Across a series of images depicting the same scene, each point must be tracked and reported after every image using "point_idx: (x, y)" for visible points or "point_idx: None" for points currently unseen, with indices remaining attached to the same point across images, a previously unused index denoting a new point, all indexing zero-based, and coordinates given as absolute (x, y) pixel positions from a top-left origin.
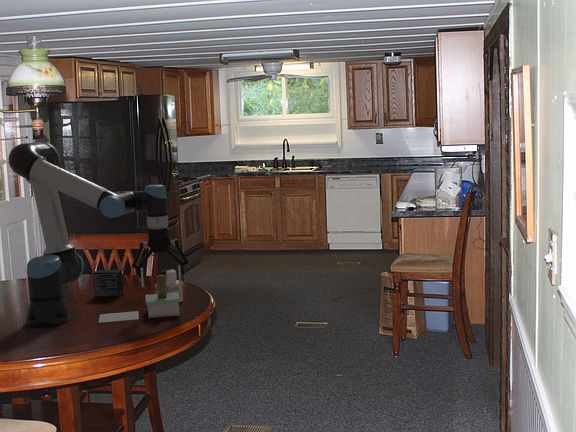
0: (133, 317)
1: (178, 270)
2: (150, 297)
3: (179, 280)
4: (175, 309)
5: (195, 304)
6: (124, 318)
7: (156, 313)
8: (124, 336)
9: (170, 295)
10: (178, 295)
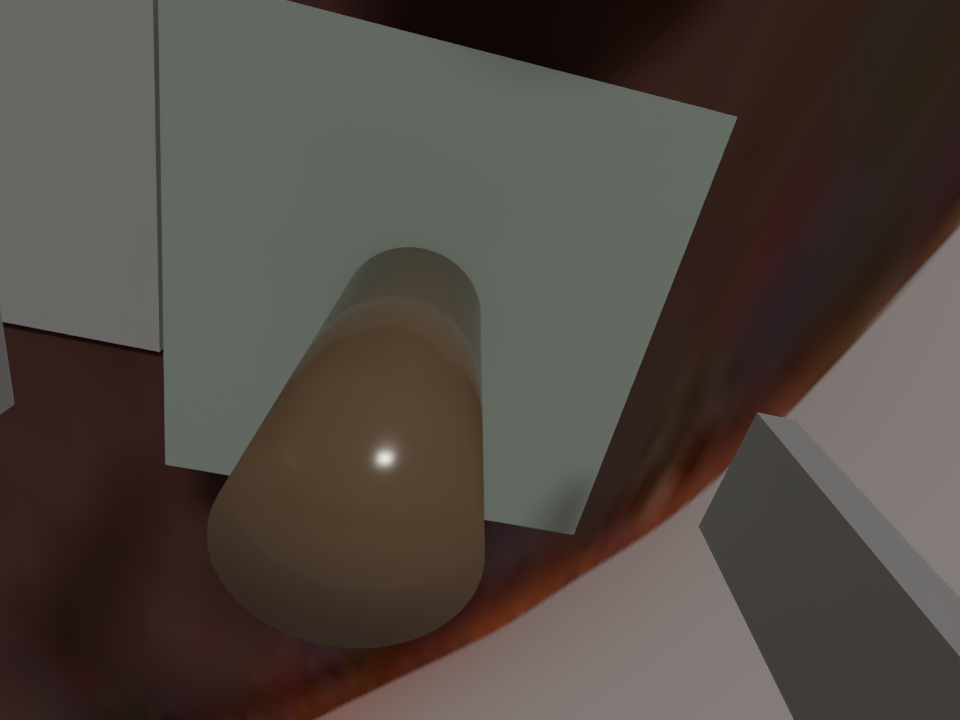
0: (102, 267)
1: (910, 702)
2: (238, 236)
3: (729, 579)
4: None
5: (915, 15)
6: (4, 252)
7: None
8: (70, 675)
9: (546, 282)
10: (641, 349)
